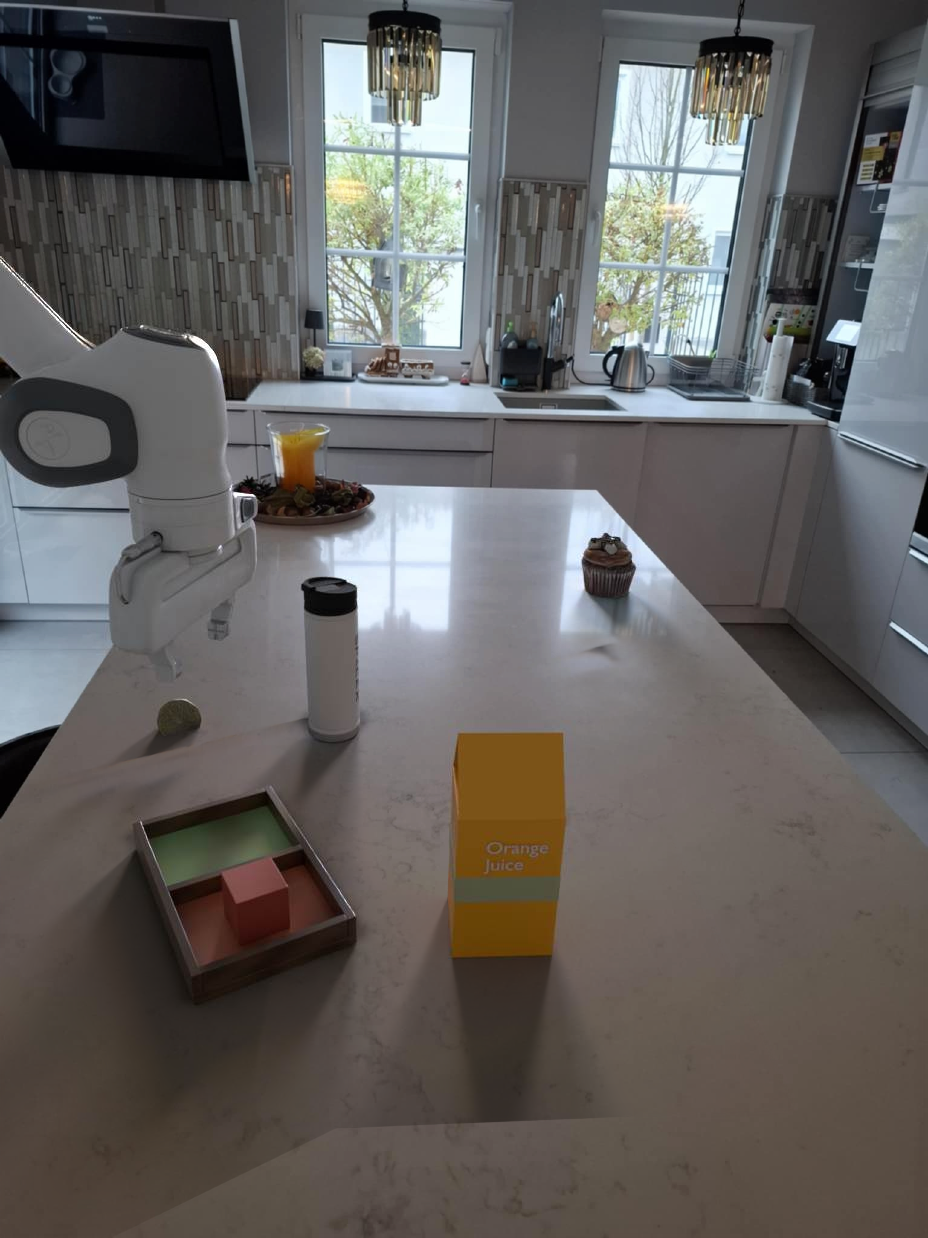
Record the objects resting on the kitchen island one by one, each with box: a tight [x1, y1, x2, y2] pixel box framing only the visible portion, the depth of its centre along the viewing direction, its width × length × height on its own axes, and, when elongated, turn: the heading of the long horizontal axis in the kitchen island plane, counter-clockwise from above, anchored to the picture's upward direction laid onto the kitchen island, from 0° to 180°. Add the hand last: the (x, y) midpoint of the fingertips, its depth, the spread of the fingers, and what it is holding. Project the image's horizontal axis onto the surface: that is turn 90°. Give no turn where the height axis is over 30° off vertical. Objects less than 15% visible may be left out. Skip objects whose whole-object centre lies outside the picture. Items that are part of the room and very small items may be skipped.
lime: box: [156, 698, 202, 737], centre depth 104 cm, size 4×5×5 cm
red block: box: [221, 857, 290, 946], centre depth 75 cm, size 4×4×4 cm
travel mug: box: [300, 576, 361, 743], centre depth 104 cm, size 6×7×20 cm
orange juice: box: [447, 732, 567, 958], centre depth 74 cm, size 8×9×20 cm
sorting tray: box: [132, 785, 358, 1006], centre depth 80 cm, size 14×22×3 cm, turn 31°
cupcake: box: [580, 532, 637, 599], centre depth 154 cm, size 10×10×10 cm
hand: (195, 657), depth 83 cm, fingers open, 8 cm apart
